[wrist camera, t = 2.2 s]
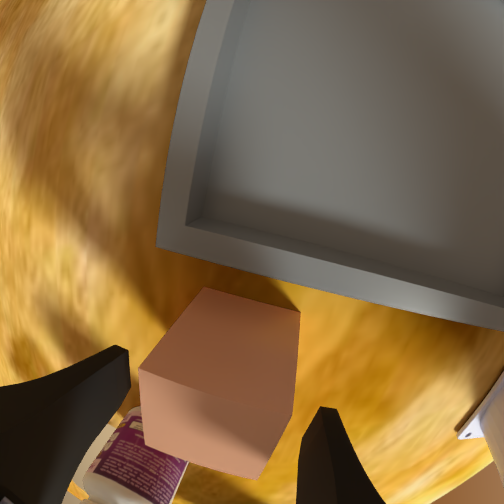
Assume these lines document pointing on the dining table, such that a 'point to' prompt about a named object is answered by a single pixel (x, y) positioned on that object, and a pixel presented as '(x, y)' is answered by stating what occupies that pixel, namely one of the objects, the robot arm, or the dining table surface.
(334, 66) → the grey bin
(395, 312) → the dining table surface
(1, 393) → the robot arm
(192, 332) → the terracotta block
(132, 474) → the pill bottle
